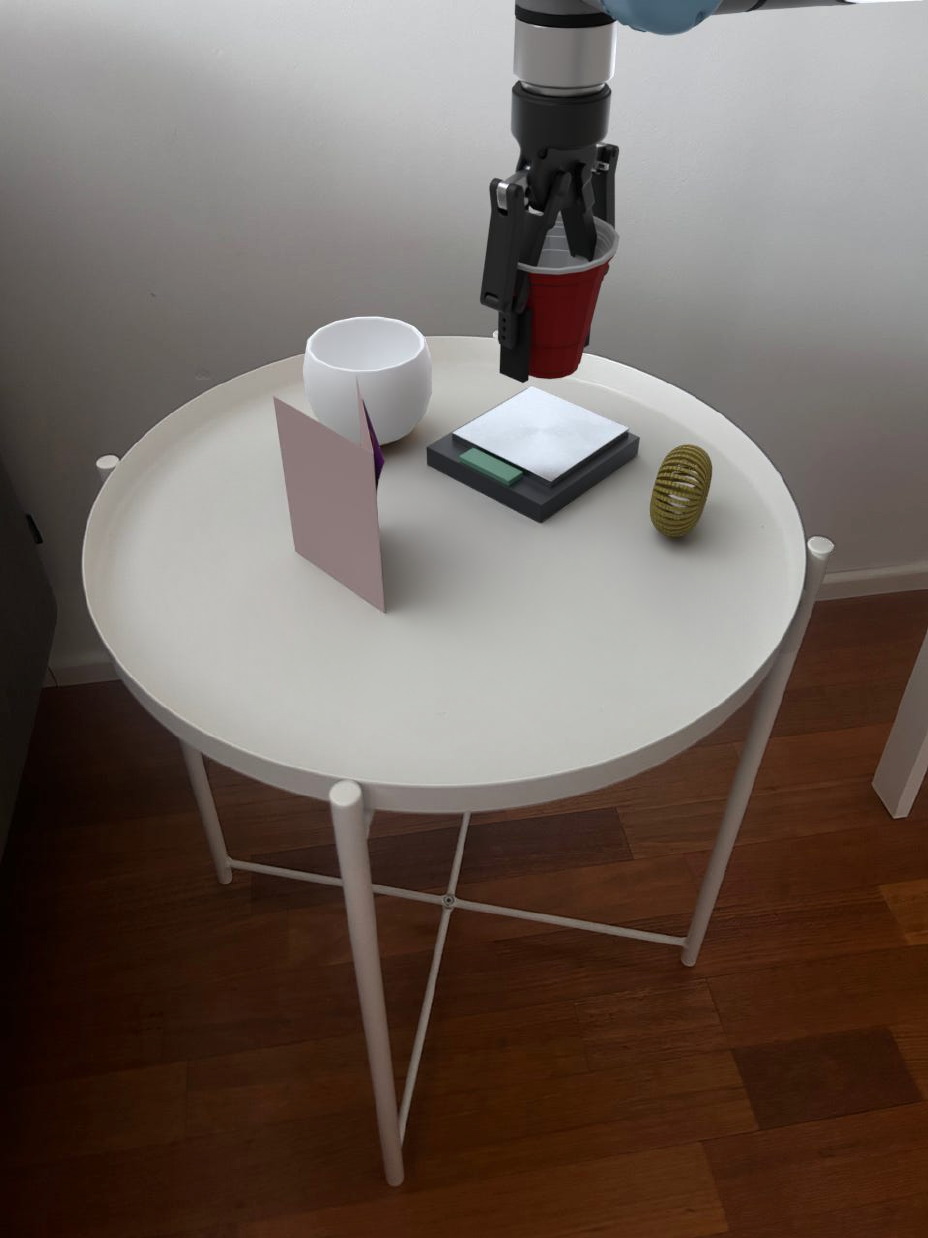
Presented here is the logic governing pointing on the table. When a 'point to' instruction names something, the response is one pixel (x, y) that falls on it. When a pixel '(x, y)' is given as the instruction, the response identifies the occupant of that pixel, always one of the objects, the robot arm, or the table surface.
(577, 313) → the plastic cup
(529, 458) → the scale
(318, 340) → the cup
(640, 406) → the table surface
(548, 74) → the robot arm
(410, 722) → the table surface
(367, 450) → the greeting card
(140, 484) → the table surface
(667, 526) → the sculpture
